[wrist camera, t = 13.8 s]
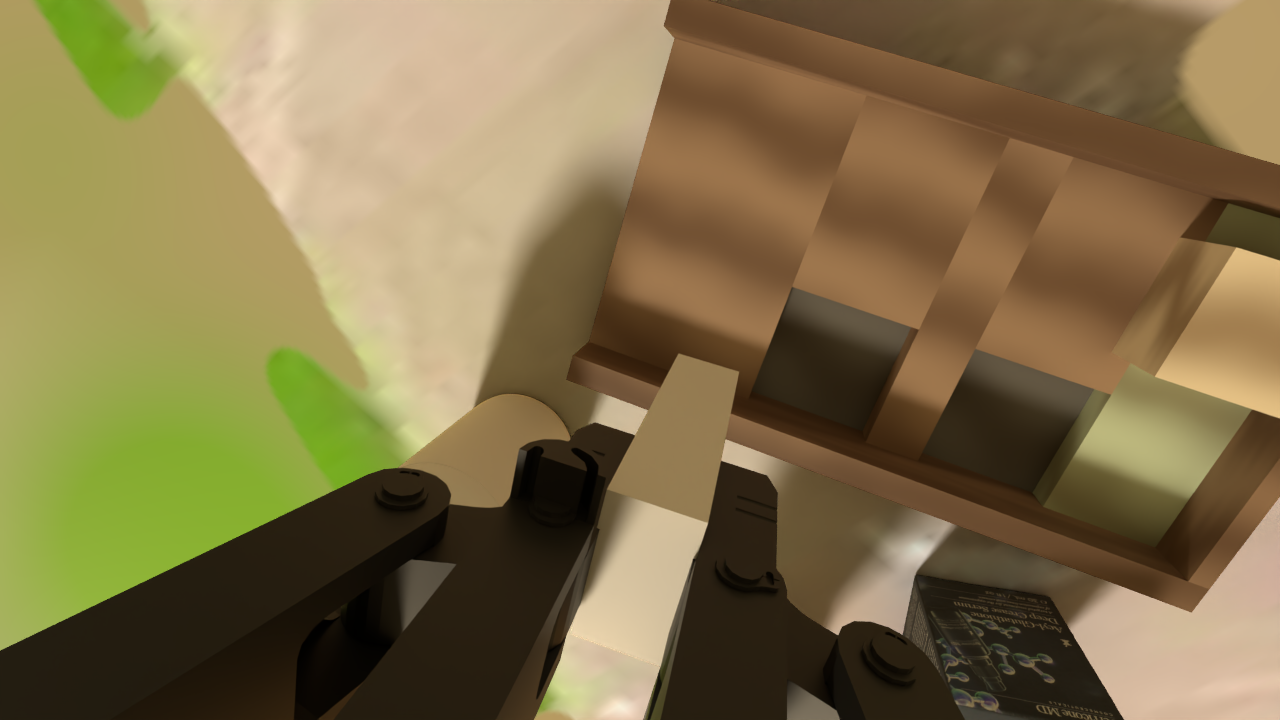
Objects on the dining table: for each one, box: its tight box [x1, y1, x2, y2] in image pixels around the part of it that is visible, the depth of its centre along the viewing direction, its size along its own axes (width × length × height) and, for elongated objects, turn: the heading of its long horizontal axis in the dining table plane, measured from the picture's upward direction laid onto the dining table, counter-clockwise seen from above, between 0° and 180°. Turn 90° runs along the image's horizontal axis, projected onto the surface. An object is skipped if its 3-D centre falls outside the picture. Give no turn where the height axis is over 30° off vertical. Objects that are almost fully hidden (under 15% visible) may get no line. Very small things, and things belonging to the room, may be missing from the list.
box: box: [903, 575, 1124, 720], centre depth 35 cm, size 8×6×11 cm
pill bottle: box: [398, 394, 570, 508], centre depth 36 cm, size 8×8×15 cm
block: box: [1112, 238, 1280, 418], centre depth 29 cm, size 6×6×4 cm
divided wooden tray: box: [566, 0, 1280, 612], centre depth 32 cm, size 20×34×5 cm, turn 74°
